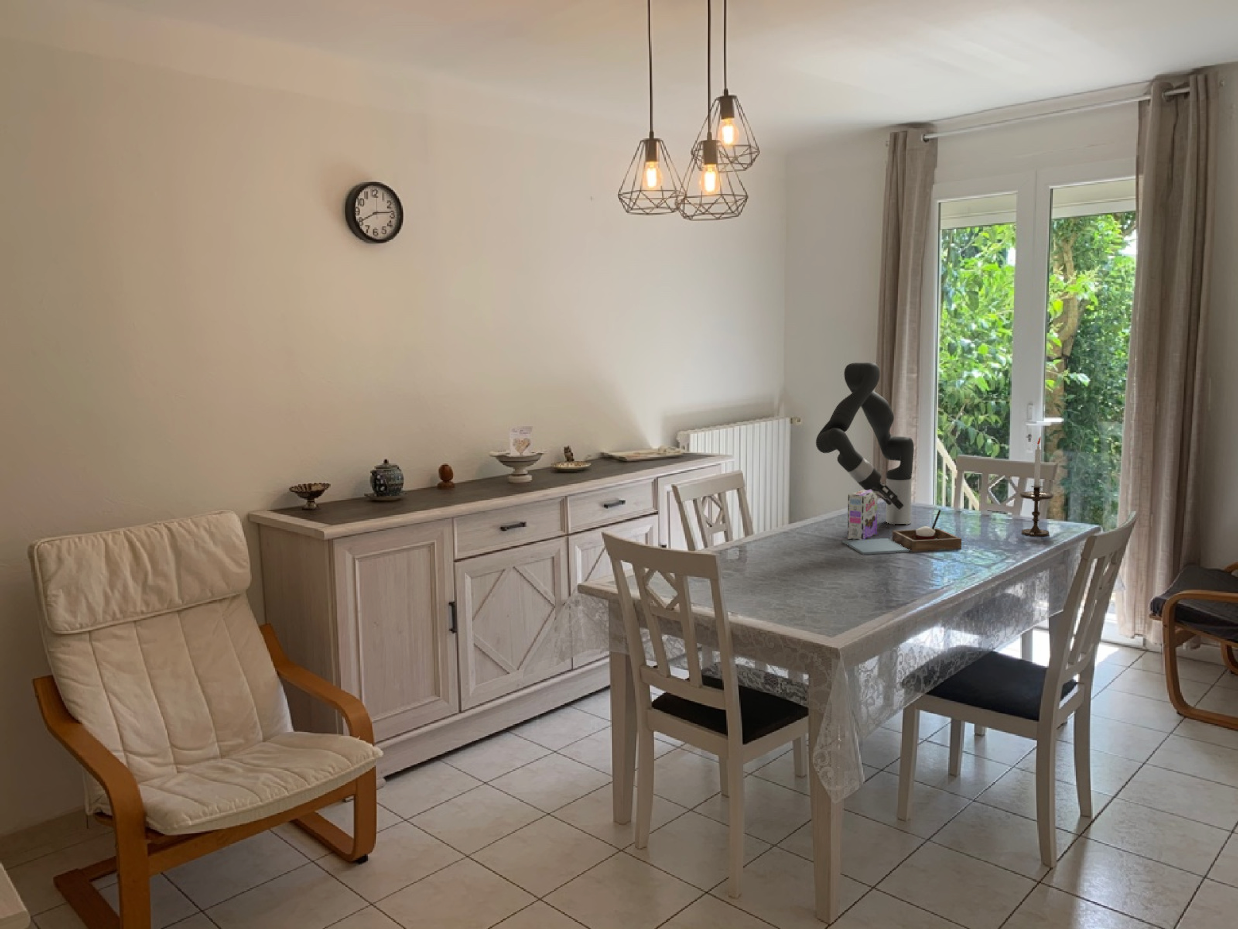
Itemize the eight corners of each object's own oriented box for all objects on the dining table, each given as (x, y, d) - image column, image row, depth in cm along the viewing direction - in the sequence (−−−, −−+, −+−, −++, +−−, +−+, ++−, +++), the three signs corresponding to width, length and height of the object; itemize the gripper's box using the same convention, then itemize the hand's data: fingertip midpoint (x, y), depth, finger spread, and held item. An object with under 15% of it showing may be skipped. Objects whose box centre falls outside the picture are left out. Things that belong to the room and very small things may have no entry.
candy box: (862, 541, 326) (863, 495, 324) (846, 539, 330) (847, 494, 328) (877, 534, 337) (878, 489, 335) (862, 532, 341) (862, 488, 339)
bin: (892, 540, 326) (892, 530, 326) (938, 538, 328) (938, 528, 327) (912, 551, 309) (913, 541, 309) (961, 548, 311) (961, 538, 311)
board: (843, 542, 325) (843, 540, 325) (887, 540, 326) (887, 538, 326) (862, 554, 307) (862, 552, 307) (909, 552, 309) (909, 549, 309)
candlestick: (1045, 530, 335) (1049, 434, 330) (1056, 537, 325) (1060, 437, 320) (1014, 530, 336) (1017, 434, 332) (1024, 537, 326) (1027, 438, 321)
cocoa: (910, 546, 318) (909, 512, 316) (914, 542, 324) (913, 508, 322) (939, 547, 314) (938, 513, 312) (942, 543, 319) (941, 509, 317)
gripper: (880, 468, 306) (912, 500, 309) (863, 462, 320) (895, 493, 323) (864, 484, 306) (897, 517, 309) (848, 478, 320) (880, 509, 323)
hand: (896, 505), depth 316 cm, fingers open, 8 cm apart
